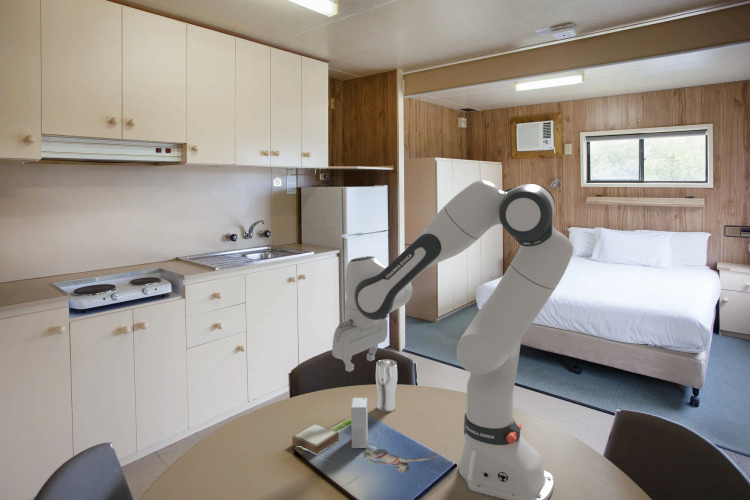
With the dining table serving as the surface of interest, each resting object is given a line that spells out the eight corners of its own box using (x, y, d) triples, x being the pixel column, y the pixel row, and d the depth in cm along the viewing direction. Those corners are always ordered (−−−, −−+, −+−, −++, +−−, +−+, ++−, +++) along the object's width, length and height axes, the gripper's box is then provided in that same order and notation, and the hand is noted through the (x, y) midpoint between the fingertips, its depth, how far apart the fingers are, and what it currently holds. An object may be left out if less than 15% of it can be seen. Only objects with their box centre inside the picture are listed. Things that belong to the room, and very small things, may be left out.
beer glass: (397, 403, 154) (398, 359, 152) (396, 413, 147) (396, 367, 145) (376, 402, 155) (376, 358, 153) (374, 412, 148) (374, 366, 146)
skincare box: (352, 437, 133) (352, 397, 131) (367, 437, 133) (367, 397, 131) (351, 449, 127) (350, 407, 125) (366, 449, 127) (366, 407, 125)
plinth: (338, 442, 131) (338, 431, 131) (316, 457, 124) (316, 446, 124) (315, 432, 136) (314, 422, 136) (292, 446, 129) (292, 435, 129)
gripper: (345, 327, 116) (345, 380, 118) (391, 310, 132) (390, 357, 134) (326, 322, 119) (326, 374, 121) (373, 306, 136) (372, 352, 138)
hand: (360, 365), depth 128 cm, fingers open, 8 cm apart
